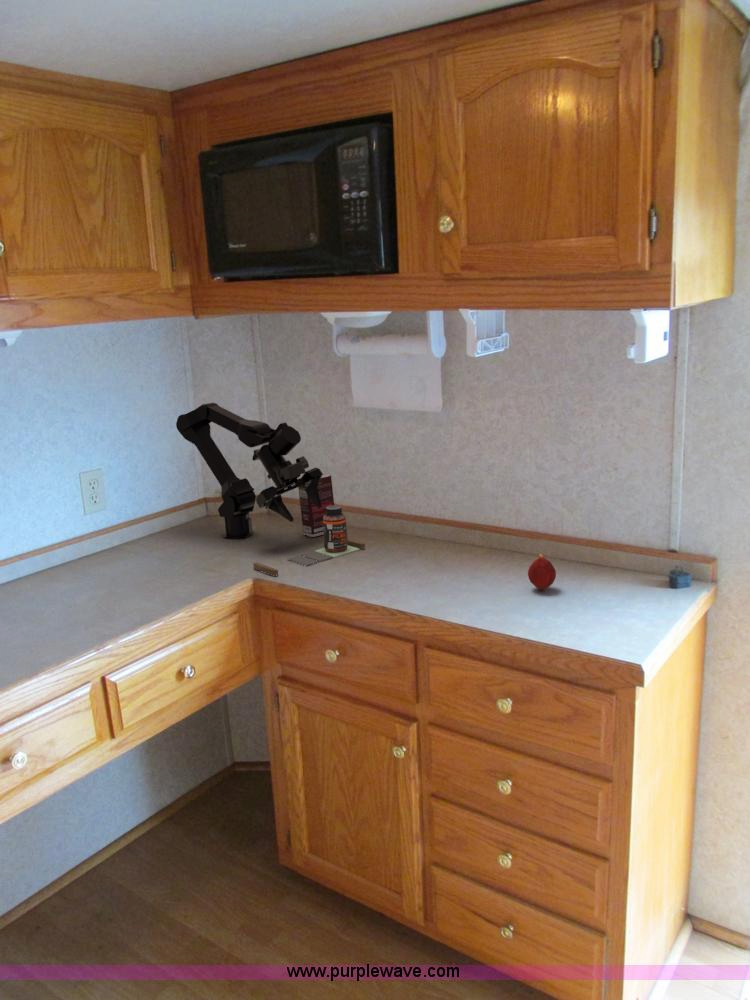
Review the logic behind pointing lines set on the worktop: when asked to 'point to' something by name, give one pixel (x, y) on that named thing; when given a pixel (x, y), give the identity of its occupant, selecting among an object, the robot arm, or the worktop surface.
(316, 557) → the pads
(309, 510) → the supplement box
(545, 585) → the onion
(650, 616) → the worktop surface
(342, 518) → the supplement bottle
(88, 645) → the worktop surface
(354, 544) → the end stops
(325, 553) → the pad
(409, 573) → the worktop surface
